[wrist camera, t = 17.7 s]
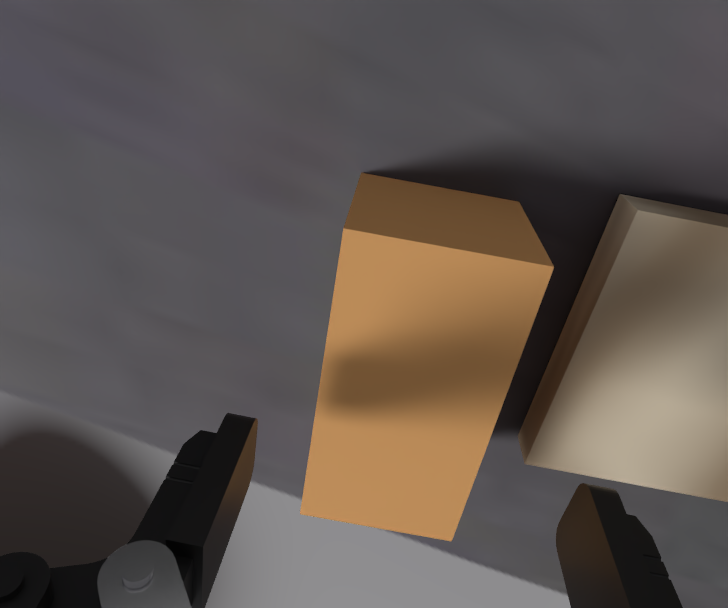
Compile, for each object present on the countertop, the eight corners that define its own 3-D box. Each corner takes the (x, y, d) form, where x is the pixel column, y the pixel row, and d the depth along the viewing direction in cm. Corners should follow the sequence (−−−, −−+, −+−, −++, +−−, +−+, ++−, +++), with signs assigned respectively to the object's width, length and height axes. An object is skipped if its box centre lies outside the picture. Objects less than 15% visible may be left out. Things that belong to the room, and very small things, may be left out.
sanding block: (518, 199, 17) (554, 267, 13) (444, 434, 22) (451, 541, 17) (361, 170, 17) (343, 228, 12) (322, 412, 22) (299, 514, 17)
